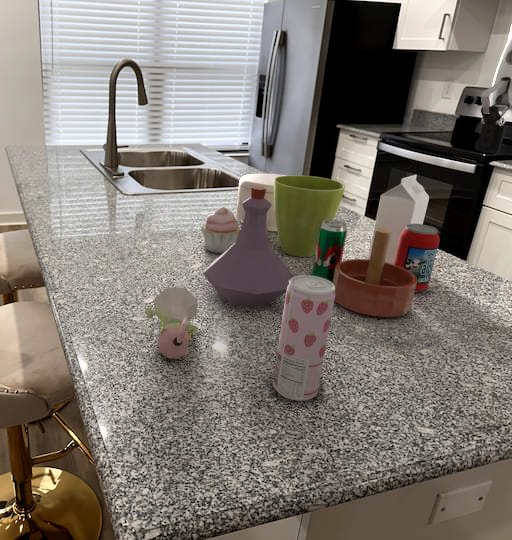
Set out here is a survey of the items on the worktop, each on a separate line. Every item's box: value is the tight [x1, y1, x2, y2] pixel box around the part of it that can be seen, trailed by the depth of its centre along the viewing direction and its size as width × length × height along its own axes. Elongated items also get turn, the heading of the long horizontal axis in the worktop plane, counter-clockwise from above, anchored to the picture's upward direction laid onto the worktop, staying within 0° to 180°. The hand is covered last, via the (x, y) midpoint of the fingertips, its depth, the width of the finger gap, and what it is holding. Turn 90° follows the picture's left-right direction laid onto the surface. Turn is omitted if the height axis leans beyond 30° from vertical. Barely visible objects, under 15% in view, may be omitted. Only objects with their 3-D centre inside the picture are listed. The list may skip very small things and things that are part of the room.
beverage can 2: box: [393, 223, 441, 293], centre depth 98 cm, size 7×7×12 cm
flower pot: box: [274, 174, 346, 258], centre depth 114 cm, size 15×15×16 cm
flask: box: [202, 186, 296, 309], centre depth 89 cm, size 16×16×20 cm
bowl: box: [333, 258, 417, 318], centre depth 91 cm, size 13×13×6 cm
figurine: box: [144, 287, 199, 360], centre depth 76 cm, size 9×7×15 cm
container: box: [235, 173, 288, 232], centre depth 135 cm, size 18×18×12 cm
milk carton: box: [367, 174, 430, 264], centre depth 108 cm, size 7×7×19 cm
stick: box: [365, 229, 391, 285], centre depth 90 cm, size 2×2×13 cm
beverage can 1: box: [272, 274, 335, 402], centre depth 64 cm, size 6×6×15 cm
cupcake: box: [200, 206, 241, 254], centre depth 114 cm, size 9×9×10 cm
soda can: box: [311, 219, 348, 283], centre depth 99 cm, size 5×5×12 cm
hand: (507, 150), depth 79 cm, fingers open, 9 cm apart
